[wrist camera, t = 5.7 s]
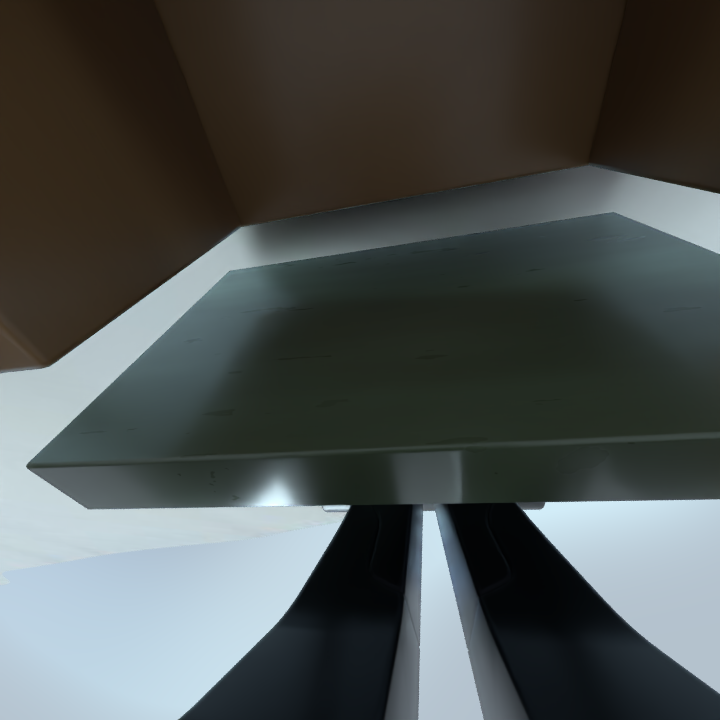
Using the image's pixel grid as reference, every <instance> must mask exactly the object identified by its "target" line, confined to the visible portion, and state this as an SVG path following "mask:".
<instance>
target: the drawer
mask: <svg viewBox="0 0 720 720" xmlns="http://www.w3.org/2000/svg"><path fill="white" fill-rule="evenodd" d="M587 165H590V166H594V167H598V168H603V169H608V170H612V171H617V172H621V173H626V174H631V175H635V176H640V177H644V178H649V179H654V180H658V181H663V182H667V183H672V184H677V185H681V186H686V187H690V188H695V189H700V190H704V191H709V192H713V193H718V194H720V0H0V373H5V372H14V371H23V370H32V369H41V368H46V367H49V366H51V365H52V364H54V363H55V362H57V361H58V360H59V359H61V358H62V357H63V356H65V355H66V354H68V353H69V352H70V351H72V350H73V349H74V348H76V347H77V346H79V345H80V344H81V343H83V342H84V341H85V340H87V339H88V338H90V337H91V336H92V335H94V334H95V333H96V332H98V331H99V330H101V329H102V328H103V327H105V326H106V325H107V324H109V323H110V322H111V321H113V320H114V319H116V318H117V317H118V316H120V315H121V314H122V313H124V312H125V311H127V310H128V309H129V308H131V307H132V306H133V305H135V304H136V303H138V302H139V301H140V300H142V299H143V298H144V297H146V296H147V295H149V294H150V293H151V292H153V291H154V290H155V289H157V288H158V287H160V286H161V285H162V284H164V283H165V282H166V281H168V280H169V279H171V278H172V277H173V276H175V275H176V274H177V273H179V272H180V271H182V270H183V269H184V268H186V267H187V266H188V265H190V264H191V263H193V262H194V261H195V260H197V259H198V258H199V257H201V256H202V255H204V254H205V253H206V252H208V251H209V250H210V249H212V248H213V247H215V246H216V245H217V244H219V243H220V242H221V241H223V240H224V239H226V238H227V237H228V236H230V235H231V234H232V233H234V232H235V231H237V230H238V229H239V228H240V227H244V226H250V225H256V224H261V223H267V222H272V221H278V220H284V219H289V218H295V217H301V216H306V215H312V214H317V213H323V212H329V211H334V210H340V209H346V208H351V207H357V206H362V205H368V204H374V203H379V202H385V201H391V200H396V199H402V198H407V197H413V196H419V195H424V194H430V193H436V192H441V191H447V190H452V189H458V188H464V187H469V186H475V185H481V184H486V183H492V182H497V181H503V180H509V179H514V178H520V177H526V176H531V175H537V174H542V173H548V172H554V171H559V170H565V169H570V168H576V167H582V166H587ZM26 467H27V469H29V470H30V471H32V472H33V473H35V474H36V475H38V476H39V477H41V478H42V479H44V480H45V481H47V482H48V483H50V484H51V485H53V486H54V487H55V488H57V489H58V490H60V491H61V492H63V493H64V494H66V495H67V496H69V497H70V498H72V499H73V500H75V501H76V502H78V503H79V504H81V505H82V506H84V507H85V508H87V509H140V508H203V507H266V506H322V508H323V510H324V511H325V512H347V511H348V509H349V507H350V505H391V504H423V511H435V507H434V504H454V503H516V502H517V503H518V505H519V506H520V507H521V508H522V510H533V509H534V510H536V509H542V508H543V507H544V505H545V502H575V501H577V502H578V501H639V500H641V501H642V500H703V499H704V500H705V499H720V254H718V253H715V252H713V251H710V250H708V249H705V248H703V247H700V246H698V245H695V244H693V243H690V242H688V241H685V240H683V239H680V238H678V237H675V236H673V235H670V234H667V233H665V232H662V231H660V230H657V229H655V228H652V227H650V226H647V225H645V224H642V223H640V222H637V221H635V220H632V219H630V218H627V217H625V216H622V215H620V214H617V213H615V212H611V213H604V214H598V215H591V216H585V217H578V218H572V219H565V220H559V221H552V222H546V223H539V224H533V225H526V226H520V227H513V228H507V229H500V230H493V231H487V232H480V233H474V234H467V235H461V236H454V237H448V238H441V239H435V240H428V241H422V242H415V243H409V244H402V245H396V246H389V247H383V248H376V249H370V250H363V251H357V252H350V253H344V254H337V255H331V256H324V257H318V258H311V259H305V260H298V261H291V262H285V263H278V264H272V265H265V266H259V267H252V268H246V269H239V270H233V271H229V272H228V273H227V274H226V275H225V276H224V277H223V278H222V279H221V280H220V281H219V282H218V283H216V284H215V285H214V286H213V287H212V288H211V289H210V290H209V291H208V292H207V293H206V294H205V295H204V296H203V297H202V298H201V299H200V300H199V301H198V302H197V303H196V304H194V305H193V306H192V307H191V308H190V309H189V310H188V311H187V312H186V313H185V314H184V315H183V316H182V317H181V318H180V319H179V320H178V321H177V322H176V323H175V324H174V325H172V326H171V327H170V328H169V329H168V330H167V331H166V332H165V333H164V334H163V335H162V336H161V337H160V338H159V339H158V340H157V341H156V342H155V343H154V344H153V345H151V346H150V347H149V348H148V349H147V350H146V351H145V352H144V353H143V354H142V355H141V356H140V357H139V358H138V359H137V360H136V361H135V362H134V363H133V364H132V365H131V366H129V367H128V368H127V369H126V370H125V371H124V372H123V373H122V374H121V375H120V376H119V377H118V378H117V379H116V380H115V381H114V382H113V383H112V384H111V385H110V386H108V387H107V388H106V389H105V390H104V391H103V392H102V393H101V394H100V395H99V396H98V397H97V398H96V399H95V400H94V401H93V402H92V403H91V404H90V405H89V406H88V407H86V408H85V409H84V410H83V411H82V412H81V413H80V414H79V415H78V416H77V417H76V418H75V419H74V420H73V421H72V422H71V423H70V424H69V425H68V426H67V427H66V428H64V429H63V430H62V431H61V432H60V433H59V434H58V435H57V436H56V437H55V438H54V439H53V440H52V441H51V442H50V443H49V444H48V445H47V446H46V447H45V448H43V449H42V450H41V451H40V452H39V453H38V454H37V455H36V456H35V457H34V458H33V459H32V460H31V461H30V462H29V463H28V464H27V466H26Z"/></svg>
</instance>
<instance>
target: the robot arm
mask: <svg viewBox="0 0 720 720" xmlns="http://www.w3.org/2000/svg"><path fill="white" fill-rule="evenodd" d="M434 507H435V512H436V516H437V520H438V525H439V529H440V533H441V537H442V541H443V546H444V550H445V555H446V559H447V563H448V567H449V572H450V576H451V580H452V584H453V589H454V593H455V597H456V602H457V606H458V610H459V615H460V619H461V623H462V627H463V632H464V636H465V640H466V644H467V648H468V650H469V651H468V653H469V658H470V662H471V666H472V670H473V674H474V679H475V683H476V688H477V692H478V696H479V700H480V704H481V709H482V713H483V718H484V720H720V694H719V693H718V692H716V691H715V690H714V689H712V688H710V687H709V686H708V685H707V684H705V683H704V682H703V681H701V680H700V679H698V678H697V677H696V676H694V675H693V674H692V673H690V672H689V671H688V670H686V669H685V668H684V667H682V666H681V665H679V664H678V663H677V662H675V661H674V660H673V659H671V658H670V657H669V656H667V655H666V654H665V653H663V652H662V651H660V650H659V649H658V648H656V647H655V646H654V645H653V644H651V643H650V642H648V640H646V639H645V638H644V637H643V636H641V635H640V634H639V633H638V632H637V631H636V630H634V629H633V628H632V627H631V626H630V625H629V624H628V623H627V622H626V621H625V620H624V619H623V618H621V617H620V616H619V615H618V614H617V613H616V612H615V611H614V610H613V609H612V608H611V606H610V605H609V604H607V602H606V601H604V599H603V598H602V597H601V596H600V595H599V594H598V593H597V592H596V591H595V590H594V589H593V587H592V586H591V585H590V584H589V583H588V582H587V581H586V580H585V579H584V578H583V577H582V575H580V574H579V572H578V571H577V570H576V569H575V568H574V567H573V566H572V565H571V564H570V563H569V561H568V560H567V559H566V558H565V557H564V556H563V555H562V554H561V553H560V552H559V551H558V550H557V549H556V548H555V546H554V545H553V544H552V543H551V542H550V541H549V540H548V539H547V538H546V537H545V535H544V534H543V533H542V532H541V531H540V530H539V529H538V528H537V527H536V525H535V524H534V523H533V522H532V521H531V520H530V519H529V517H528V516H527V515H526V513H525V512H524V511H523V510H522V508H521V507H520V506H519V505H518V503H517V502H516V503H454V504H434ZM422 522H423V504H391V505H350V507H349V509H348V511H347V513H346V515H345V517H344V519H343V521H342V523H341V525H340V527H339V528H338V530H337V532H336V534H335V535H334V537H333V539H332V541H331V542H330V544H329V546H328V547H327V549H326V551H325V552H324V554H323V555H322V557H321V559H320V560H319V562H318V564H317V565H316V567H315V569H314V570H313V572H312V573H311V575H310V577H309V578H308V580H307V582H306V583H305V585H304V587H303V588H302V590H301V592H300V593H299V595H298V596H297V598H296V599H295V601H294V602H293V604H292V605H291V607H290V608H289V609H288V611H287V612H286V613H285V614H284V616H283V617H282V618H281V619H280V620H279V622H278V623H277V624H276V625H275V626H274V627H273V628H272V629H271V630H270V631H269V632H268V633H267V634H266V635H265V636H264V637H263V638H262V639H261V640H260V641H259V642H258V643H257V644H256V645H255V646H254V647H253V648H252V649H251V650H250V651H249V652H248V653H247V654H246V655H245V656H244V657H243V658H242V659H241V660H240V661H239V662H238V663H237V664H236V665H235V666H234V667H233V668H232V669H231V670H230V671H229V672H228V673H227V674H226V675H225V676H224V677H223V678H222V679H221V680H220V681H219V682H218V683H217V684H216V685H215V686H214V687H212V688H211V690H209V691H208V692H207V693H206V694H205V695H204V696H203V697H202V698H201V699H200V700H199V701H198V702H197V703H196V704H195V705H194V706H193V707H192V708H191V709H190V710H189V711H188V712H186V713H185V714H184V715H183V716H182V717H181V718H180V719H178V720H418V704H419V703H418V702H419V658H420V649H419V646H420V612H421V568H422Z"/></svg>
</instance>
